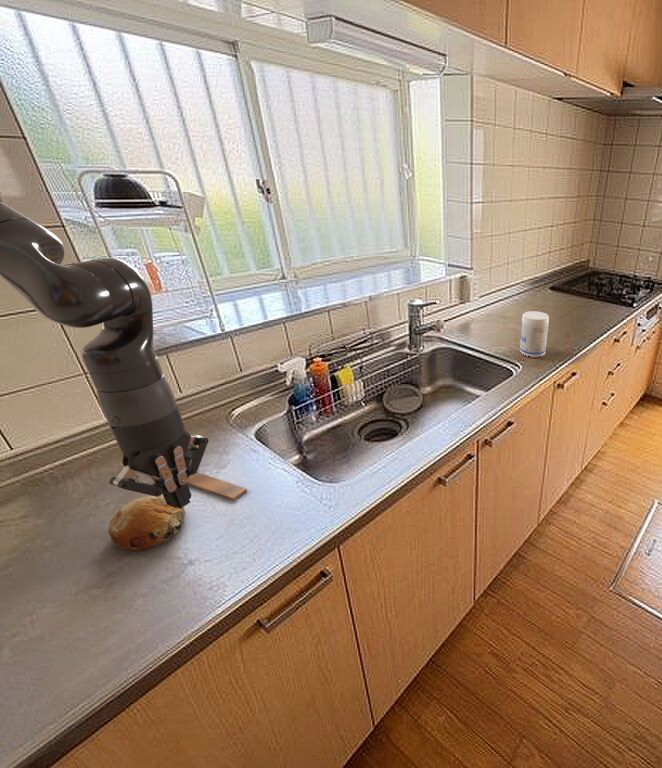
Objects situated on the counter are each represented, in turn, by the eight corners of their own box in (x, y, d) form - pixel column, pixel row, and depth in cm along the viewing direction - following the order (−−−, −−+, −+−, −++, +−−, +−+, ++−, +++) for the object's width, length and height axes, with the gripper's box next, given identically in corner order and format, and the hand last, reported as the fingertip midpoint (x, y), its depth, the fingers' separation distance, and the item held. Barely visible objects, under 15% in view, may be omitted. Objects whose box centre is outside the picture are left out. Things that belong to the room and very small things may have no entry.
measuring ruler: (145, 469, 87) (144, 467, 86) (160, 461, 89) (159, 459, 89) (233, 500, 80) (232, 498, 80) (247, 491, 83) (246, 488, 82)
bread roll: (184, 520, 80) (165, 483, 78) (199, 526, 73) (178, 485, 72) (118, 553, 72) (95, 513, 71) (128, 563, 66) (103, 519, 64)
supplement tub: (515, 350, 156) (517, 312, 149) (537, 347, 160) (540, 309, 153) (527, 360, 148) (530, 320, 141) (550, 356, 152) (554, 317, 145)
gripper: (171, 384, 65) (203, 473, 72) (65, 427, 53) (117, 527, 61) (207, 394, 62) (236, 484, 70) (105, 440, 51) (153, 542, 59)
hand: (181, 504), depth 66 cm, fingers closed
